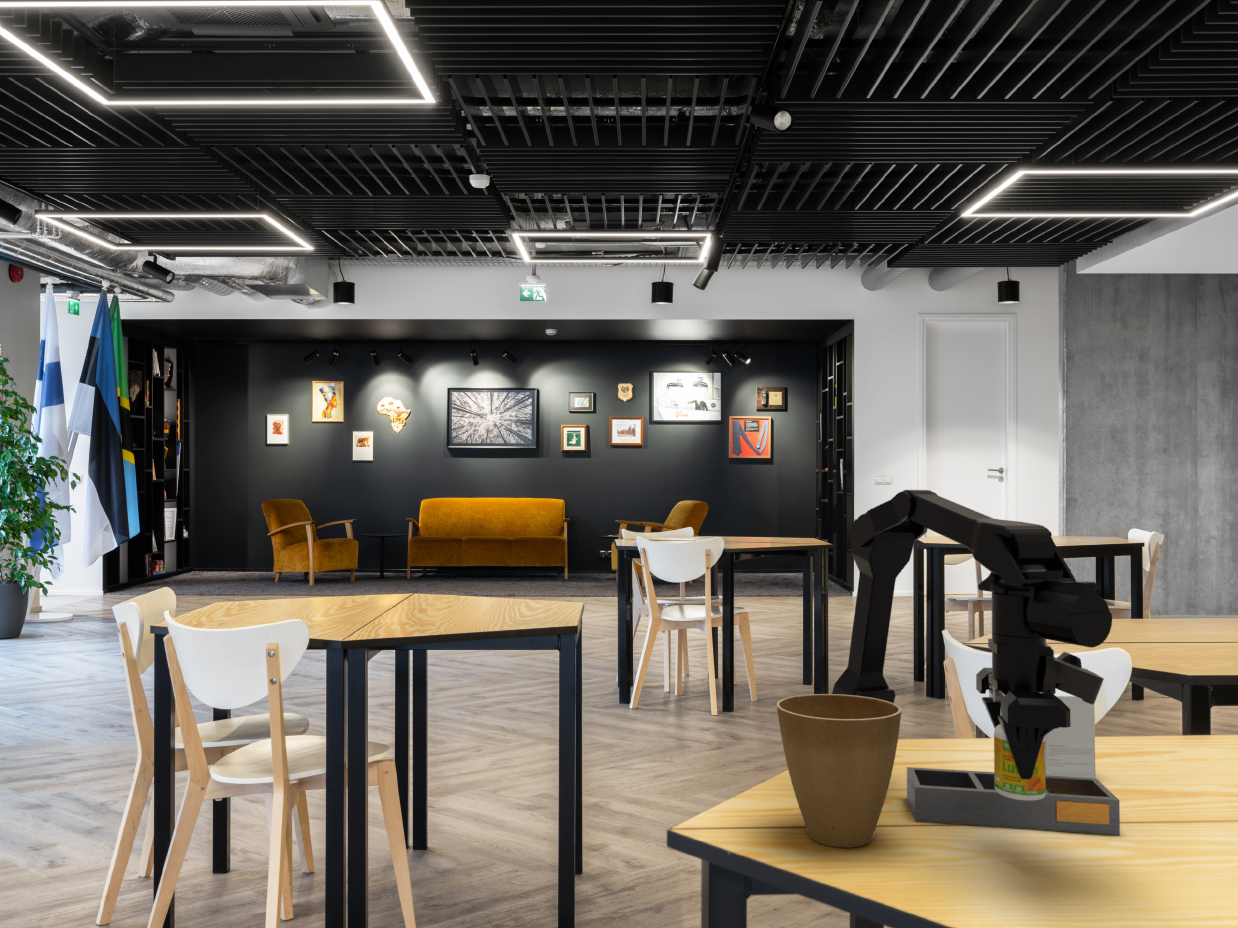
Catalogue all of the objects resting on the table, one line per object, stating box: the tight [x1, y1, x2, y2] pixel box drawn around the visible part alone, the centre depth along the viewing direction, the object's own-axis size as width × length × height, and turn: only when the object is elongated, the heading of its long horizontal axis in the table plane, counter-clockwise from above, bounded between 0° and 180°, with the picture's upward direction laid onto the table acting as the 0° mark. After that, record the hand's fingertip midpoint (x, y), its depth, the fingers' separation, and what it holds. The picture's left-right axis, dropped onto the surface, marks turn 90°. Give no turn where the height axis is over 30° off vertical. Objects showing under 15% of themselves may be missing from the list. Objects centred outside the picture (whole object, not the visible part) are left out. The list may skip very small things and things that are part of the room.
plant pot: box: [776, 693, 902, 848], centre depth 113 cm, size 15×15×16 cm
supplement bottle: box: [993, 712, 1046, 800], centre depth 105 cm, size 5×5×10 cm
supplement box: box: [1039, 688, 1097, 779], centre depth 139 cm, size 7×7×13 cm
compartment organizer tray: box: [906, 766, 1121, 836], centre depth 120 cm, size 24×9×4 cm, turn 79°
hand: (1019, 771), depth 105 cm, fingers closed on supplement bottle, 5 cm apart
